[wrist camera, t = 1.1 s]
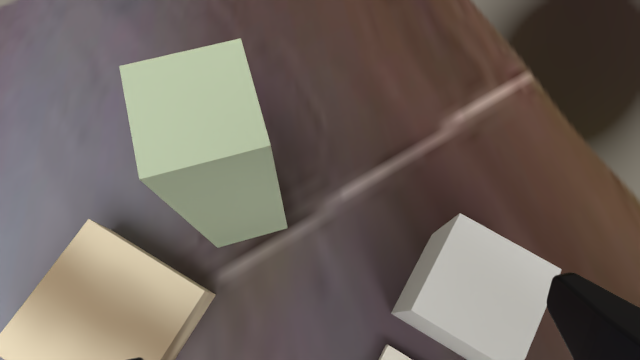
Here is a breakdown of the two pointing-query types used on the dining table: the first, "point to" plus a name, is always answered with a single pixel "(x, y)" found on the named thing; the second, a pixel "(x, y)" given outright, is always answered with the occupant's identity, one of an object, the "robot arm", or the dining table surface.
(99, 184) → the dining table surface
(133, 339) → the maple base
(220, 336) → the dining table surface
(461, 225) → the grey cube
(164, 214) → the dining table surface
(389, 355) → the card
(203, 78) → the sage block
